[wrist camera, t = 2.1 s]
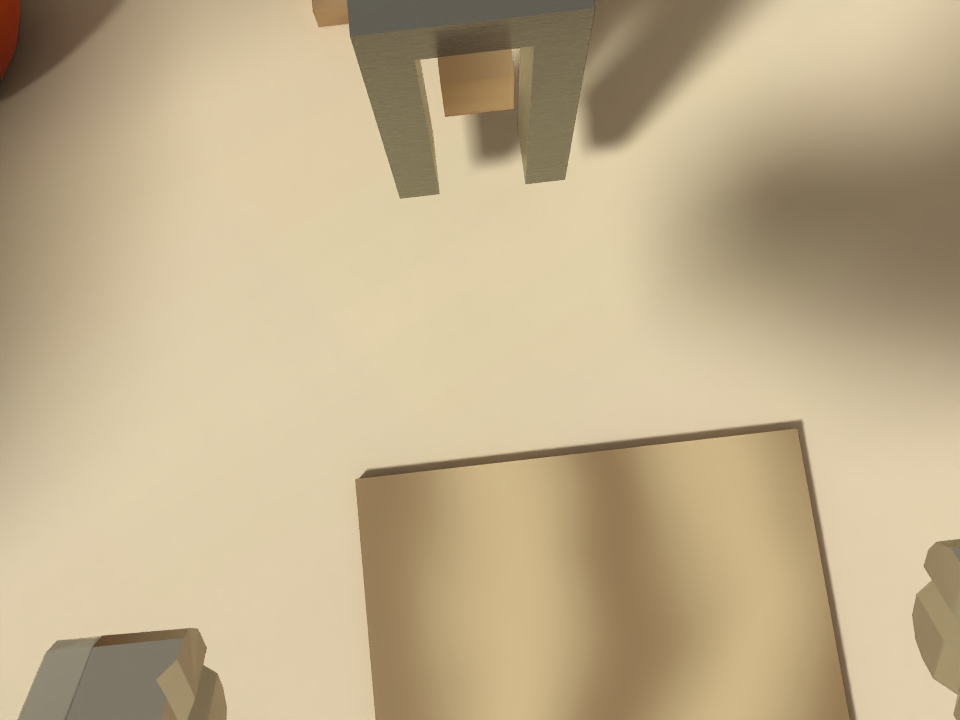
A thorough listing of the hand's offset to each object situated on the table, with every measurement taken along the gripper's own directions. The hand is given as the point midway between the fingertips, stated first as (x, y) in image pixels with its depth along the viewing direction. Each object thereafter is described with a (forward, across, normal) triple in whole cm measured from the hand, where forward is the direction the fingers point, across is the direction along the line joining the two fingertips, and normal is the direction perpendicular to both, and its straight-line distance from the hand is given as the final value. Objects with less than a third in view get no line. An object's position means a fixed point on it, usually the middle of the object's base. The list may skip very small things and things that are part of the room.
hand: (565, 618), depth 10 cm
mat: (+10, -2, +16) cm, 19 cm away
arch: (+19, 0, +2) cm, 19 cm away
